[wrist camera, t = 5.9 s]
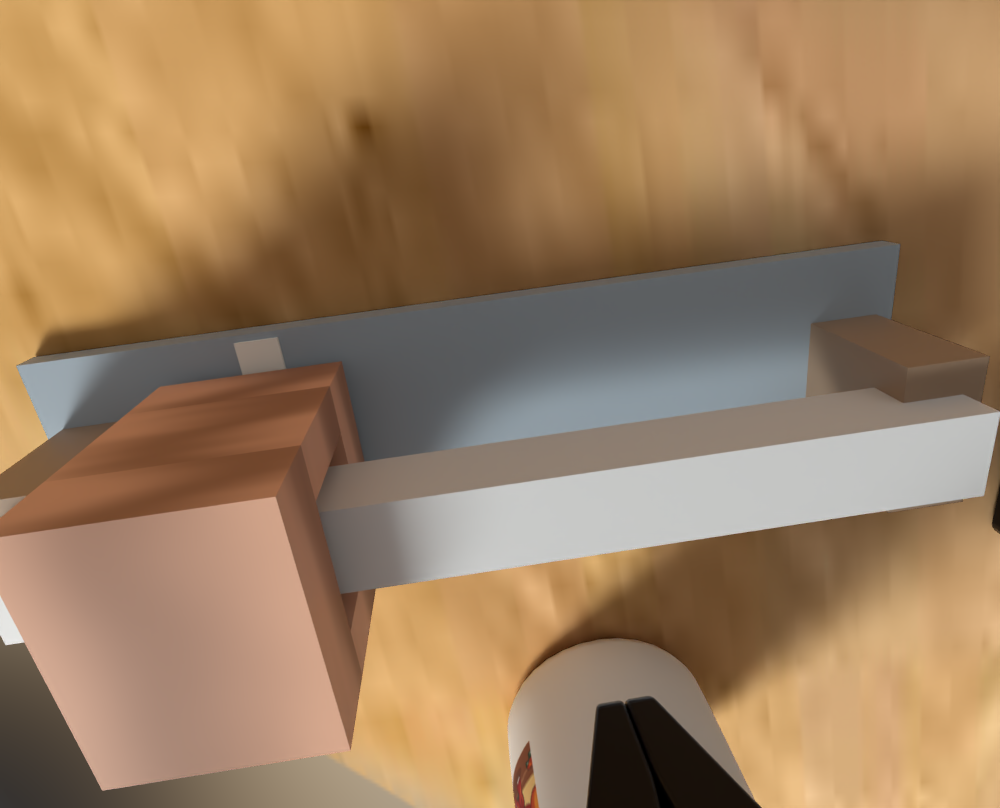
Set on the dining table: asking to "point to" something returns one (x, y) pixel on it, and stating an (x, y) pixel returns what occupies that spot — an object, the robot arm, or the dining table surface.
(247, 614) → the collar
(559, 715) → the milk bottle
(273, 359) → the rail
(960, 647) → the dining table surface
